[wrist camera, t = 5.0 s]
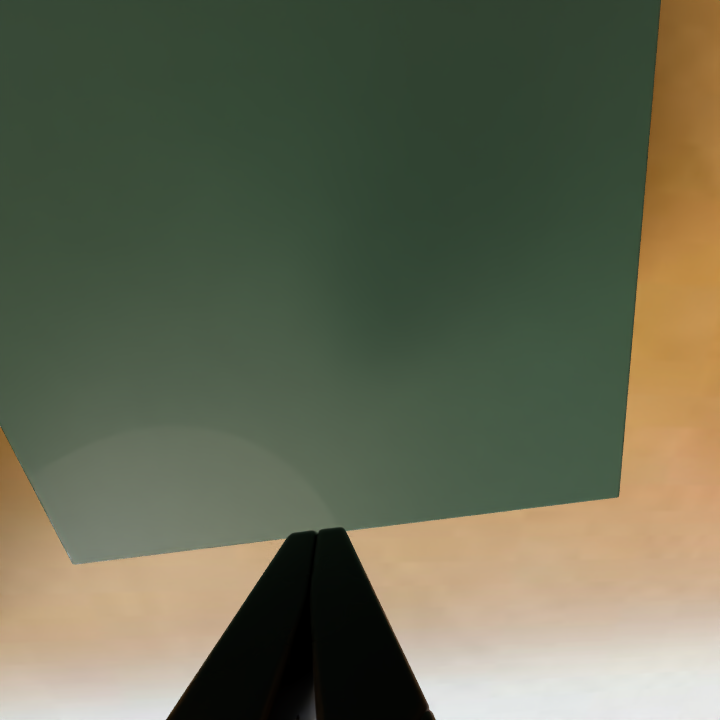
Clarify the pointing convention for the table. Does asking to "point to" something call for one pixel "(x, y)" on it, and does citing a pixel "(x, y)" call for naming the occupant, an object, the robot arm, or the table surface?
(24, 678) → the table surface
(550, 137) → the lid
